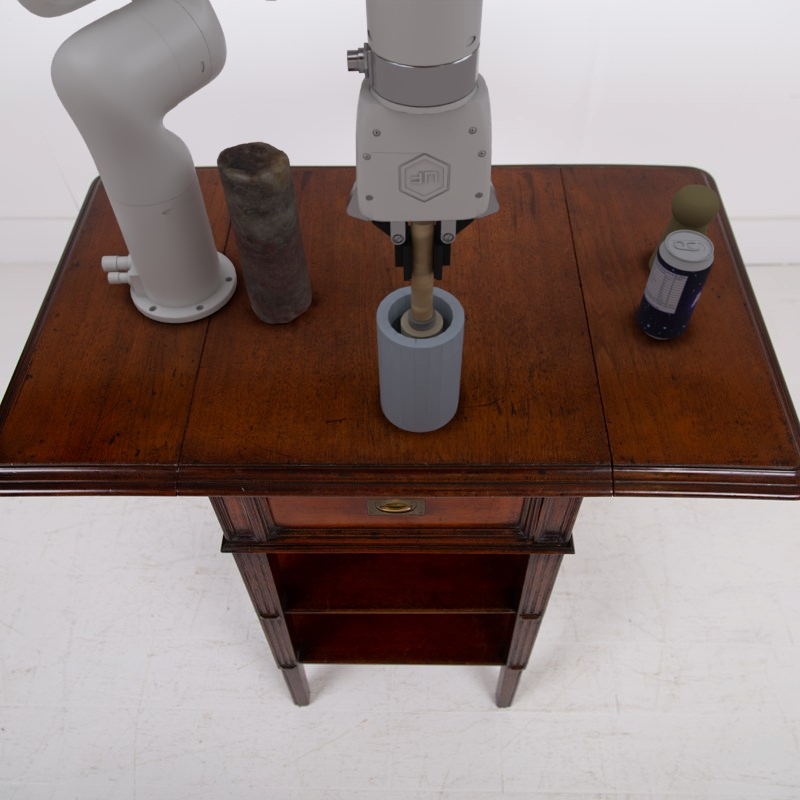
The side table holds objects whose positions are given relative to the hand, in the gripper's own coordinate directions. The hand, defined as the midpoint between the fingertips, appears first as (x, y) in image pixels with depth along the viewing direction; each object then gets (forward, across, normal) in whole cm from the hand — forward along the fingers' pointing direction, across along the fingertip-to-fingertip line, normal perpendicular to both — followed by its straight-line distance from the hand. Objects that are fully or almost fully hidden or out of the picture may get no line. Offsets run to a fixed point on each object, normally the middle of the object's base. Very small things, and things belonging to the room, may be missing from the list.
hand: (422, 268), depth 66 cm
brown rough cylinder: (+19, -16, +16) cm, 29 cm away
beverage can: (+19, +28, +10) cm, 35 cm away
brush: (+11, 0, 0) cm, 11 cm away
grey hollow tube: (+19, 0, 0) cm, 19 cm away
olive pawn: (+19, +32, +20) cm, 42 cm away
